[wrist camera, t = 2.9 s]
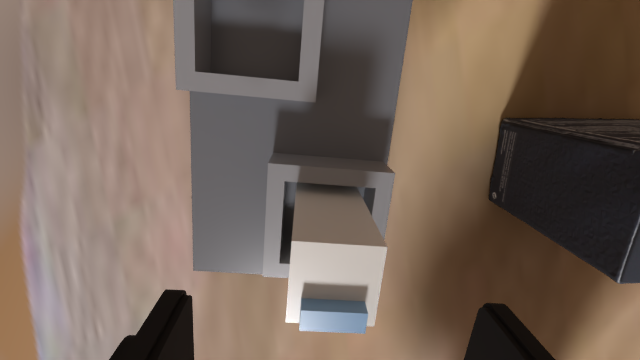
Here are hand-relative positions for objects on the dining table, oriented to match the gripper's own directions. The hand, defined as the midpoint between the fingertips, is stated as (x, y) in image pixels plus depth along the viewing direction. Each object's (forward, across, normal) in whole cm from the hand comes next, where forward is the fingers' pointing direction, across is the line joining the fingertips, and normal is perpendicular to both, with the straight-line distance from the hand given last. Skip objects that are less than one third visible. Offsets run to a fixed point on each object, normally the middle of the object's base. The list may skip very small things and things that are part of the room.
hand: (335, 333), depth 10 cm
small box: (+13, -18, -4) cm, 22 cm away
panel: (+13, +2, -5) cm, 14 cm away
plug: (+12, 0, +1) cm, 12 cm away
